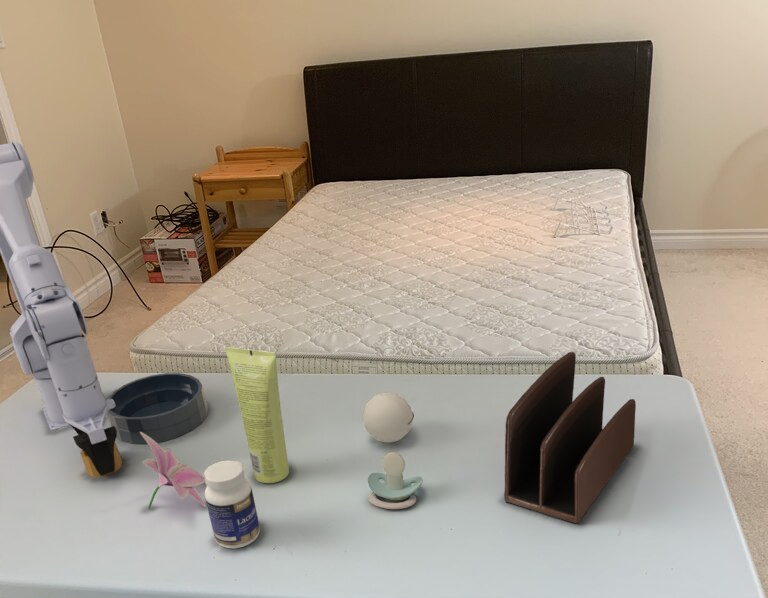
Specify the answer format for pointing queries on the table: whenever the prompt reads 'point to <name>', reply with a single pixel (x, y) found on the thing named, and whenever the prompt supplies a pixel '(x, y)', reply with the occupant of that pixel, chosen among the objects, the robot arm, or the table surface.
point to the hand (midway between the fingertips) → (103, 463)
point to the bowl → (158, 407)
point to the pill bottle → (231, 505)
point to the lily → (173, 472)
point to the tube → (260, 411)
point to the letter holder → (563, 444)
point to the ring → (92, 470)
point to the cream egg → (388, 417)
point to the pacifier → (393, 484)
